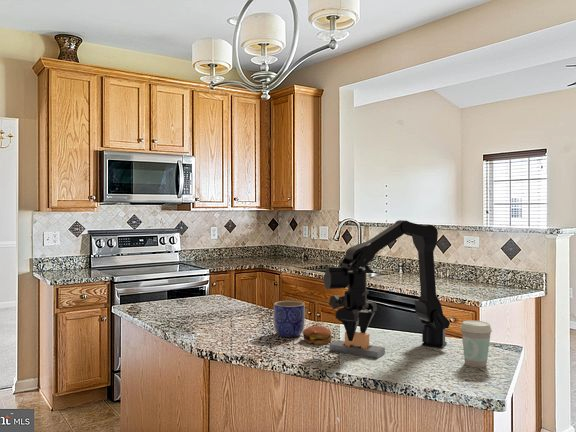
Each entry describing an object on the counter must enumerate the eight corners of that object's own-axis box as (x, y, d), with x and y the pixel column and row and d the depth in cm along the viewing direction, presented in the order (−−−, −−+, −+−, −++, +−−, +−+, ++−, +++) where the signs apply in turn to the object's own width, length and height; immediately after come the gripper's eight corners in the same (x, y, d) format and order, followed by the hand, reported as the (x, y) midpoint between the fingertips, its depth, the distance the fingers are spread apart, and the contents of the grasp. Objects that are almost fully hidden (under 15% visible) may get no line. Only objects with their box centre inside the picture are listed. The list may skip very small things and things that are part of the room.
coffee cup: (455, 360, 151) (455, 320, 151) (482, 359, 152) (483, 319, 152) (467, 369, 143) (468, 326, 143) (497, 368, 144) (497, 326, 143)
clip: (369, 353, 158) (369, 333, 158) (366, 354, 156) (366, 335, 156) (348, 349, 162) (348, 330, 162) (344, 351, 160) (344, 332, 160)
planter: (311, 334, 181) (311, 303, 181) (290, 340, 173) (290, 307, 173) (288, 329, 188) (288, 299, 188) (267, 335, 180) (267, 303, 180)
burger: (327, 337, 178) (327, 323, 178) (335, 344, 169) (335, 330, 169) (299, 338, 176) (299, 325, 176) (305, 345, 167) (306, 331, 167)
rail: (384, 353, 158) (384, 347, 158) (377, 358, 153) (377, 352, 153) (337, 346, 166) (337, 340, 166) (329, 350, 161) (329, 344, 161)
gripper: (346, 281, 171) (345, 328, 171) (320, 289, 155) (319, 340, 155) (377, 284, 165) (377, 332, 166) (353, 292, 149) (353, 345, 150)
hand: (356, 337), depth 159 cm, fingers open, 9 cm apart
